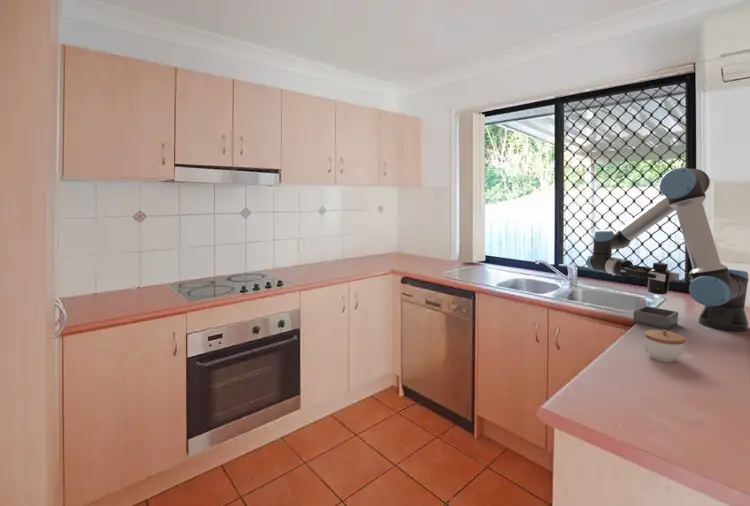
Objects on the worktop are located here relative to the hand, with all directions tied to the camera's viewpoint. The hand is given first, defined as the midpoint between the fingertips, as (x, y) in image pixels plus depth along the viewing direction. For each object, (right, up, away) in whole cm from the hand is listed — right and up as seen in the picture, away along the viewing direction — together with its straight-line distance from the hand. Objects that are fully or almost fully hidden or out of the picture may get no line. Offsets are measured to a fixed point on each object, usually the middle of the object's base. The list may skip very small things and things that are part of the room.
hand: (671, 277), depth 159 cm
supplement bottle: (-2, -7, +6) cm, 9 cm away
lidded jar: (-24, -24, -28) cm, 44 cm away
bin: (-2, -19, +7) cm, 21 cm away
